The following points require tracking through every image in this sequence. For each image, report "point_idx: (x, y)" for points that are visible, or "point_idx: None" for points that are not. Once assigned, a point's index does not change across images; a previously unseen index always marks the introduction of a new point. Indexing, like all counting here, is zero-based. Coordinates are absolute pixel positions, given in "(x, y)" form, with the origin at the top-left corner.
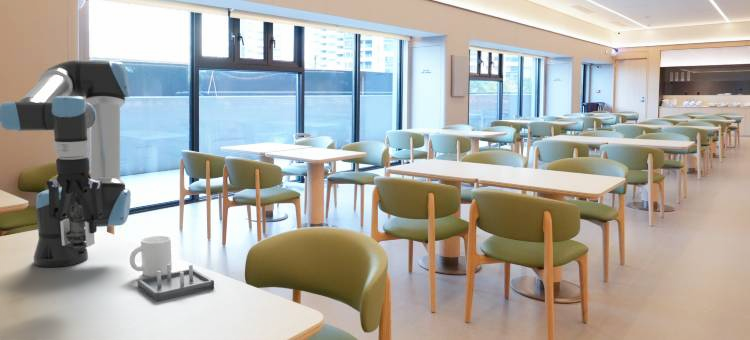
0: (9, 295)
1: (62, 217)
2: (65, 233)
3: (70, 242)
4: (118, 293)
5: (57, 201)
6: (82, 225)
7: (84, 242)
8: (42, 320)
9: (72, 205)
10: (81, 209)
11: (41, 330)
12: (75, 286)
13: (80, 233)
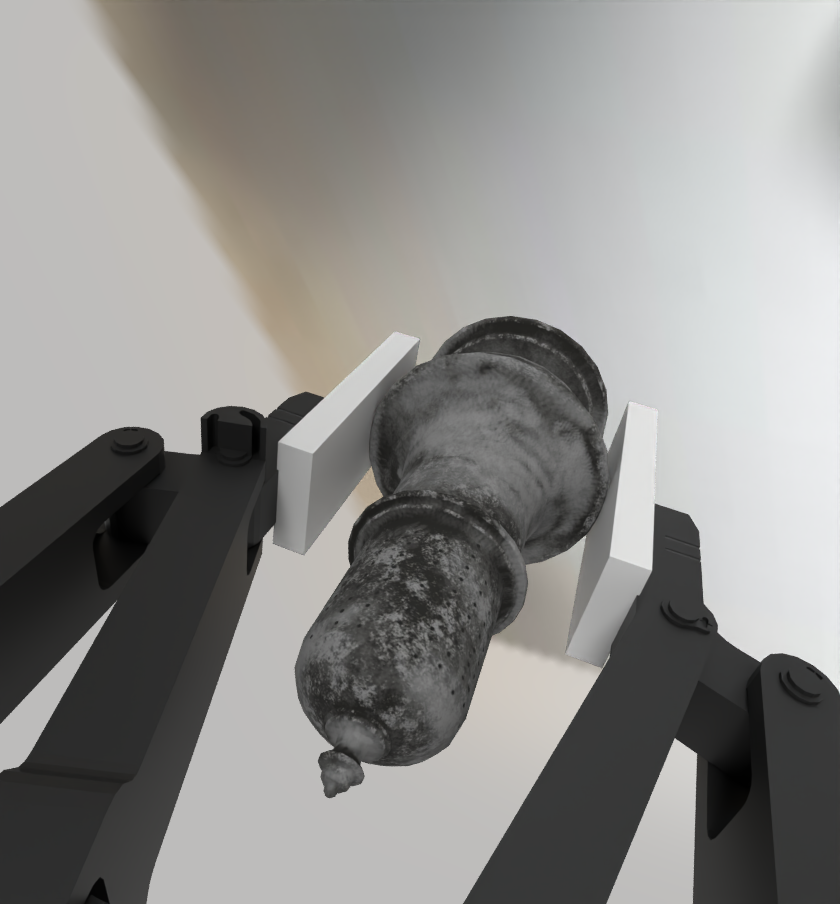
0: (214, 218)
1: (257, 528)
2: (375, 473)
3: (417, 342)
4: (796, 272)
5: (16, 608)
6: (524, 540)
7: (549, 368)
8: None
9: (309, 706)
10: (471, 694)
11: (519, 629)
12: (485, 89)
13: (530, 546)
